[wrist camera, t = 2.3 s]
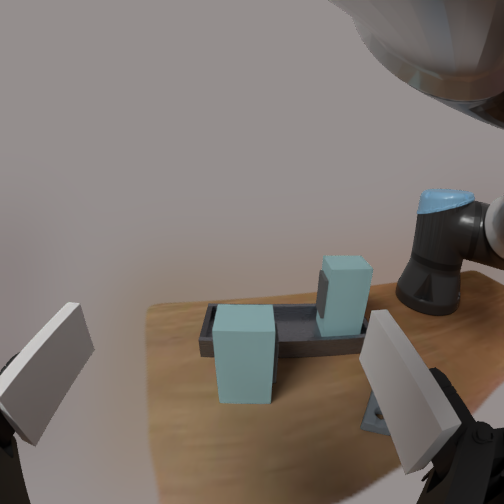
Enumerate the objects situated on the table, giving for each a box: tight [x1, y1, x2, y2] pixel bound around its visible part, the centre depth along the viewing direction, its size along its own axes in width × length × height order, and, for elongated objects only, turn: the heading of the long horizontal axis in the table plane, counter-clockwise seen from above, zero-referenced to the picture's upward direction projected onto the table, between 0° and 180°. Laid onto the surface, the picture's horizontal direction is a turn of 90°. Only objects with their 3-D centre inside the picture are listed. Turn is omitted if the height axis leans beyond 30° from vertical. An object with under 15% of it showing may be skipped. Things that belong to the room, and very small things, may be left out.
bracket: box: [360, 390, 391, 435], centre depth 29 cm, size 4×10×2 cm, turn 151°
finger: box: [212, 304, 279, 404], centre depth 31 cm, size 6×5×11 cm
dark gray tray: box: [199, 304, 369, 358], centre depth 42 cm, size 25×10×3 cm, turn 90°
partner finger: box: [316, 256, 373, 337], centre depth 40 cm, size 6×5×11 cm
